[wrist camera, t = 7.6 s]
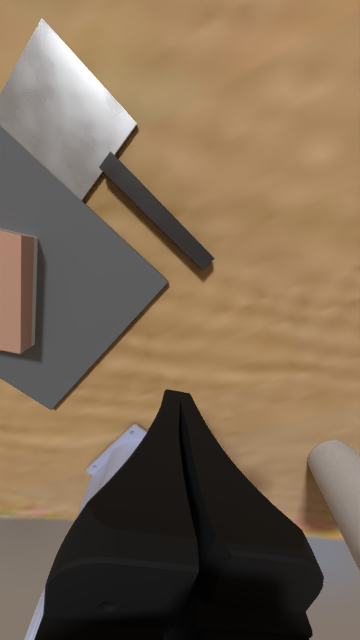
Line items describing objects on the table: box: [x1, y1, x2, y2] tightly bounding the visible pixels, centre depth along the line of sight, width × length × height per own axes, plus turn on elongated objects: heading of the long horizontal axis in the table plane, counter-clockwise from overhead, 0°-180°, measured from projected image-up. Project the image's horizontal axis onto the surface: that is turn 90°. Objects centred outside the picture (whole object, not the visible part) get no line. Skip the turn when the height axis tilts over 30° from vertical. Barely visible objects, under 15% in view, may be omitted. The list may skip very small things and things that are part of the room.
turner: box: [0, 19, 214, 271], centre depth 16 cm, size 19×7×1 cm, turn 47°
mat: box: [0, 126, 168, 410], centre depth 19 cm, size 19×18×1 cm
